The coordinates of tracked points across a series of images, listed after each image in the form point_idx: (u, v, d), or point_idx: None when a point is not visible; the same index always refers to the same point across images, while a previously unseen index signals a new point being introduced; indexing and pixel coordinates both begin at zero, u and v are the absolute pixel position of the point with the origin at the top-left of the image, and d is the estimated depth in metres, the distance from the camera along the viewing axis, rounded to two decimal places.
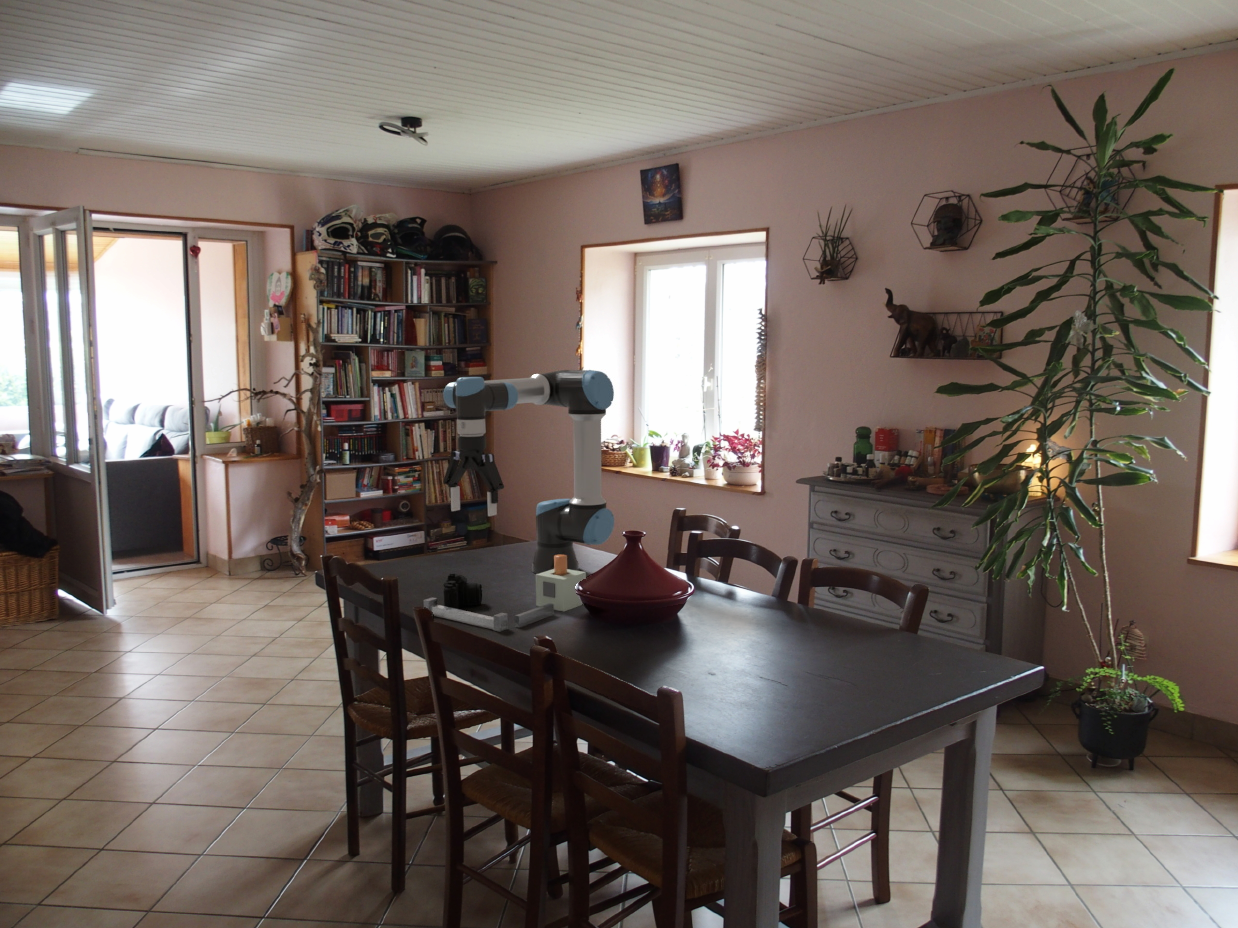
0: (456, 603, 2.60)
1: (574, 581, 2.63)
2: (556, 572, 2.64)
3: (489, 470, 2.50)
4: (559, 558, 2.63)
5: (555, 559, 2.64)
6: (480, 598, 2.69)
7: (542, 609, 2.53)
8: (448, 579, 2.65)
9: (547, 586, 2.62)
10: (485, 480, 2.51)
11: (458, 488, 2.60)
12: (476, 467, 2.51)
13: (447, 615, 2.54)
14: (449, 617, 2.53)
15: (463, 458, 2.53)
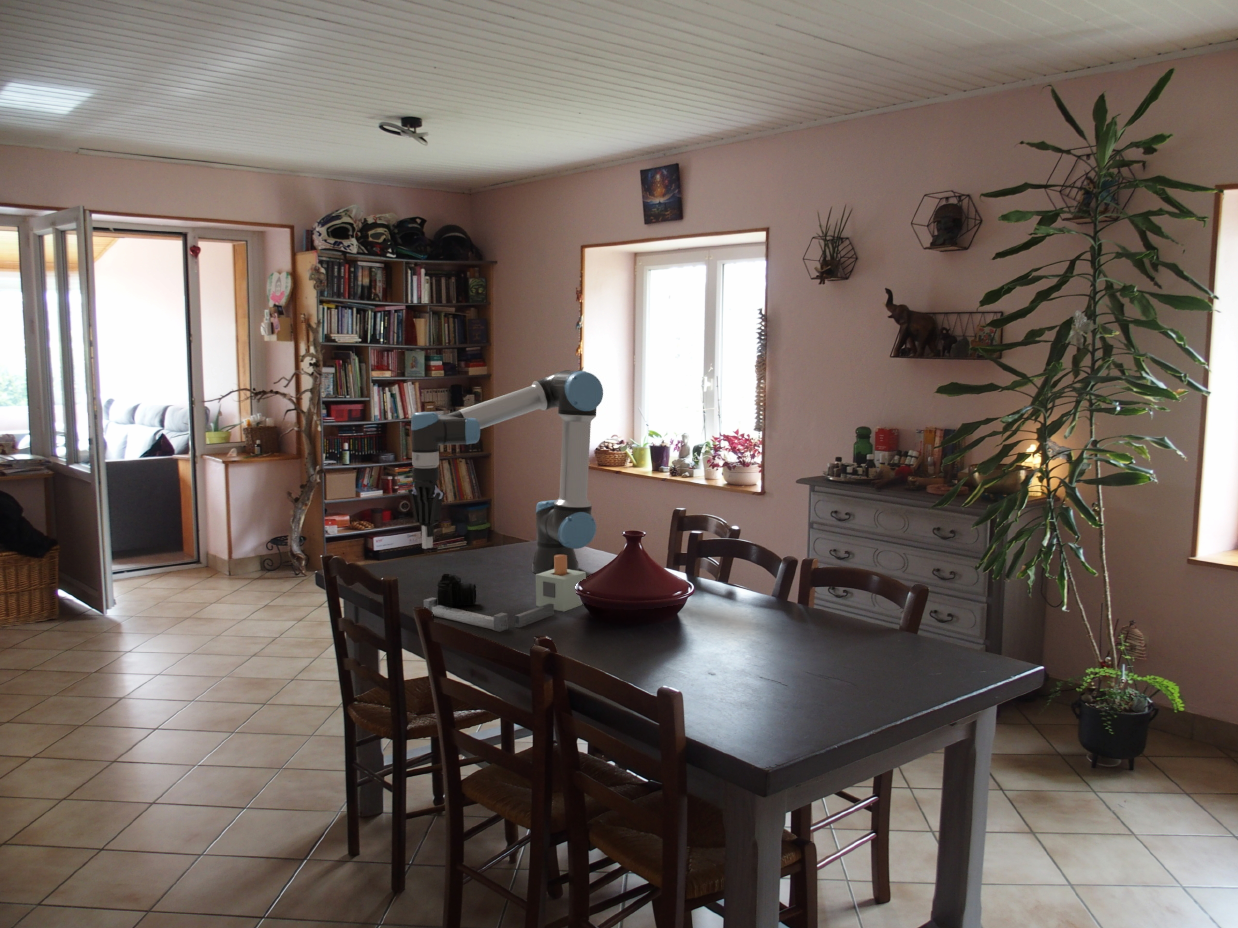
0: (450, 603, 2.60)
1: (574, 581, 2.63)
2: (556, 572, 2.64)
3: (433, 506, 2.68)
4: (559, 558, 2.63)
5: (555, 559, 2.64)
6: (474, 598, 2.68)
7: (542, 609, 2.53)
8: (442, 579, 2.65)
9: (547, 586, 2.62)
10: (426, 513, 2.70)
11: None
12: (425, 499, 2.69)
13: (447, 615, 2.54)
14: (449, 617, 2.53)
15: (417, 488, 2.70)
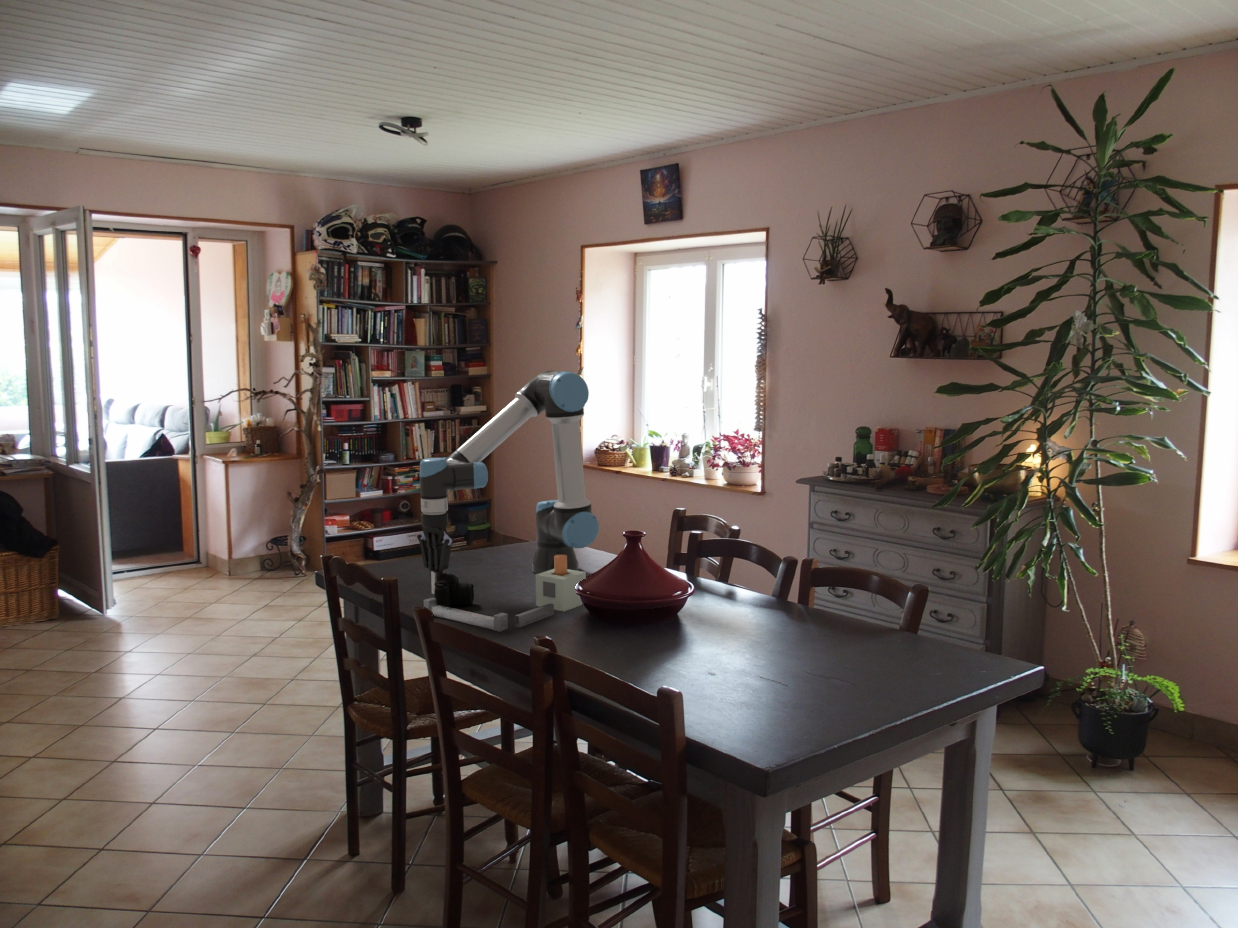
0: (447, 603, 2.60)
1: (574, 581, 2.63)
2: (556, 572, 2.64)
3: (442, 552, 2.68)
4: (559, 558, 2.63)
5: (555, 559, 2.64)
6: (472, 598, 2.69)
7: (542, 609, 2.53)
8: (439, 579, 2.65)
9: (547, 586, 2.62)
10: (435, 559, 2.70)
11: None
12: (434, 545, 2.69)
13: (447, 615, 2.54)
14: (449, 617, 2.53)
15: (426, 534, 2.70)
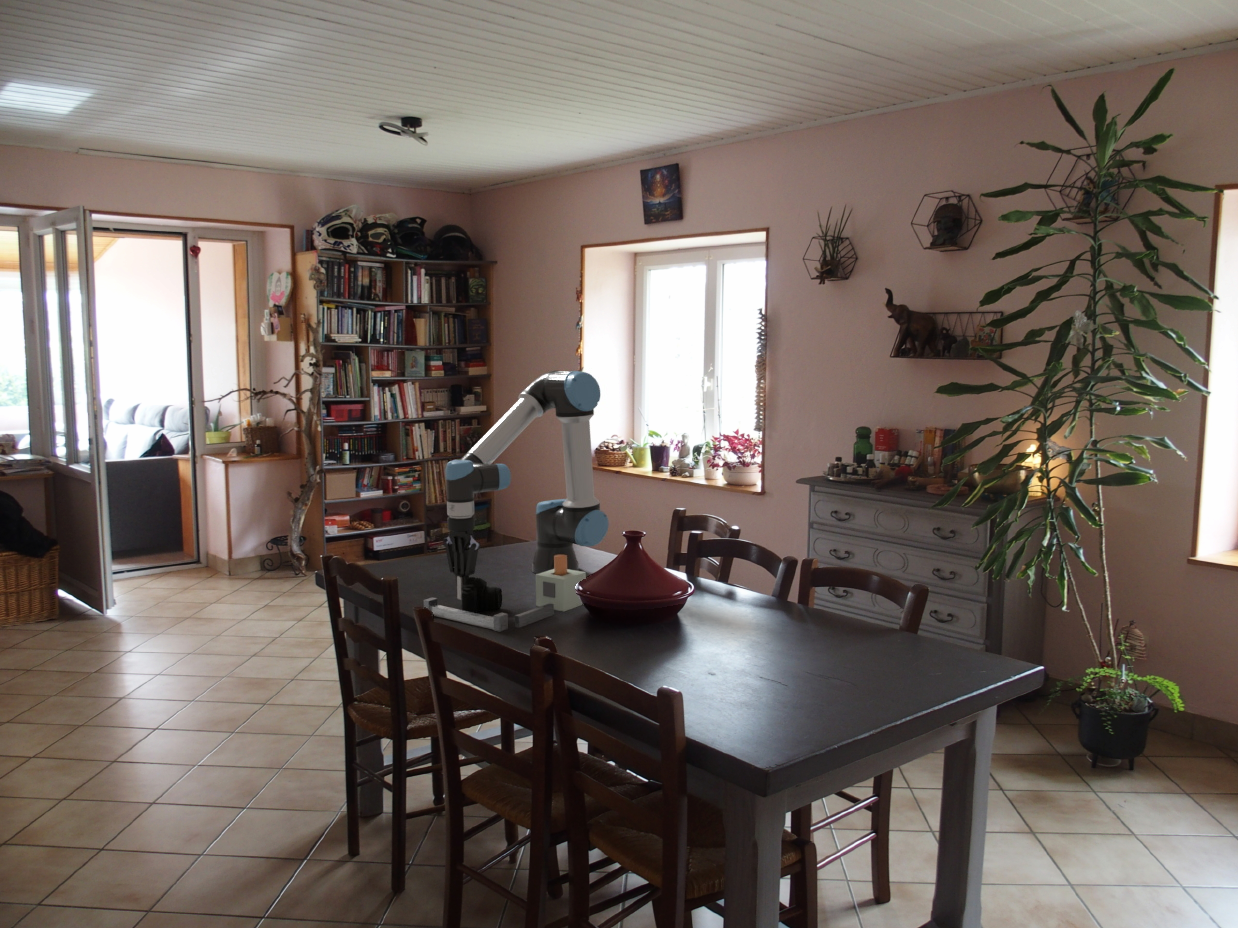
0: (474, 607, 2.55)
1: (574, 581, 2.63)
2: (556, 572, 2.64)
3: (469, 557, 2.62)
4: (559, 558, 2.63)
5: (555, 559, 2.64)
6: (500, 602, 2.63)
7: (542, 609, 2.53)
8: (467, 583, 2.60)
9: (547, 586, 2.62)
10: (462, 564, 2.64)
11: None
12: (460, 549, 2.63)
13: (447, 615, 2.54)
14: (449, 617, 2.53)
15: (452, 538, 2.64)
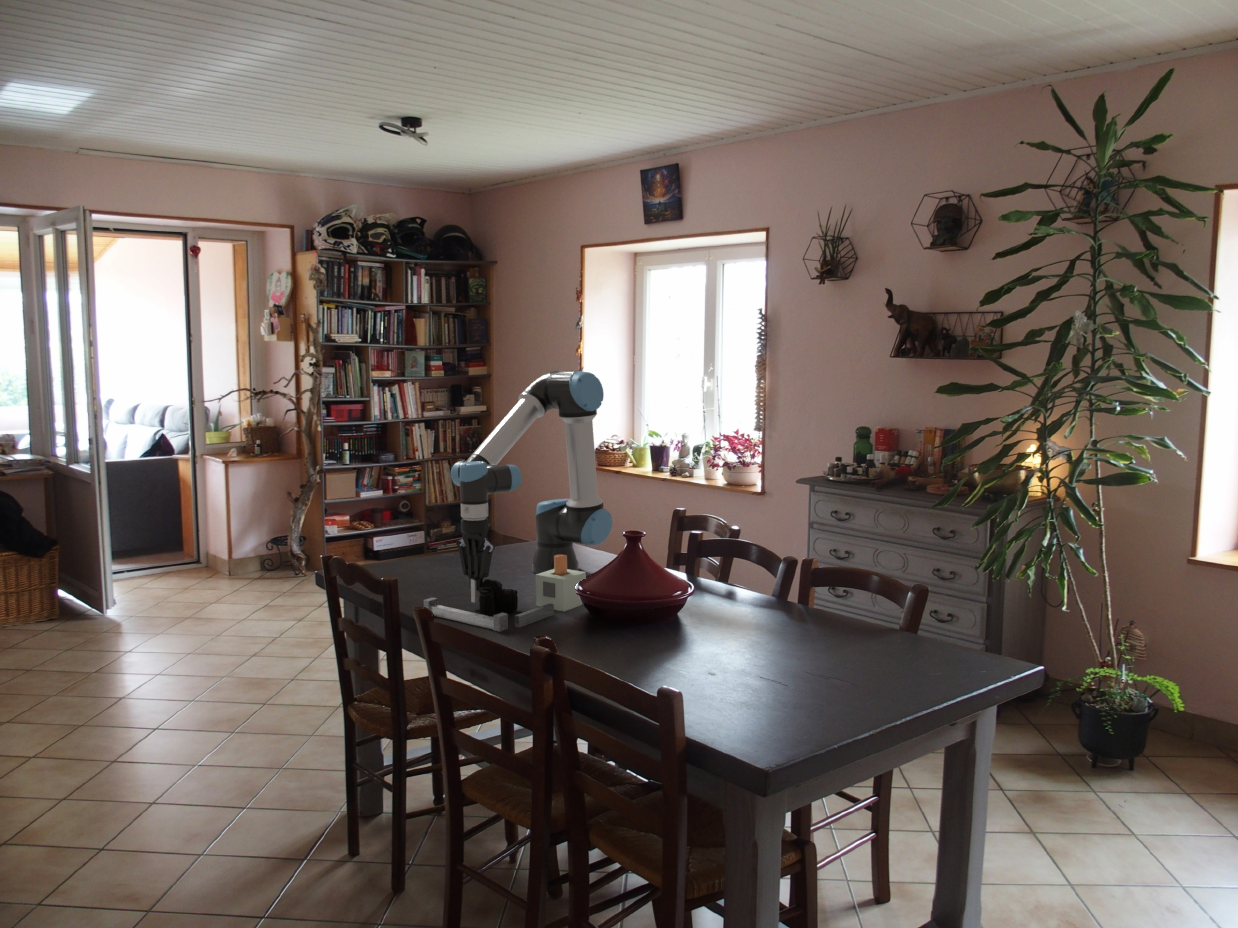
0: (492, 610, 2.53)
1: (574, 581, 2.63)
2: (556, 572, 2.64)
3: (483, 559, 2.59)
4: (559, 558, 2.63)
5: (555, 559, 2.64)
6: (516, 604, 2.61)
7: (542, 609, 2.53)
8: (483, 585, 2.58)
9: (547, 586, 2.62)
10: (476, 566, 2.61)
11: None
12: (474, 552, 2.60)
13: (447, 615, 2.54)
14: (449, 617, 2.53)
15: (466, 541, 2.61)
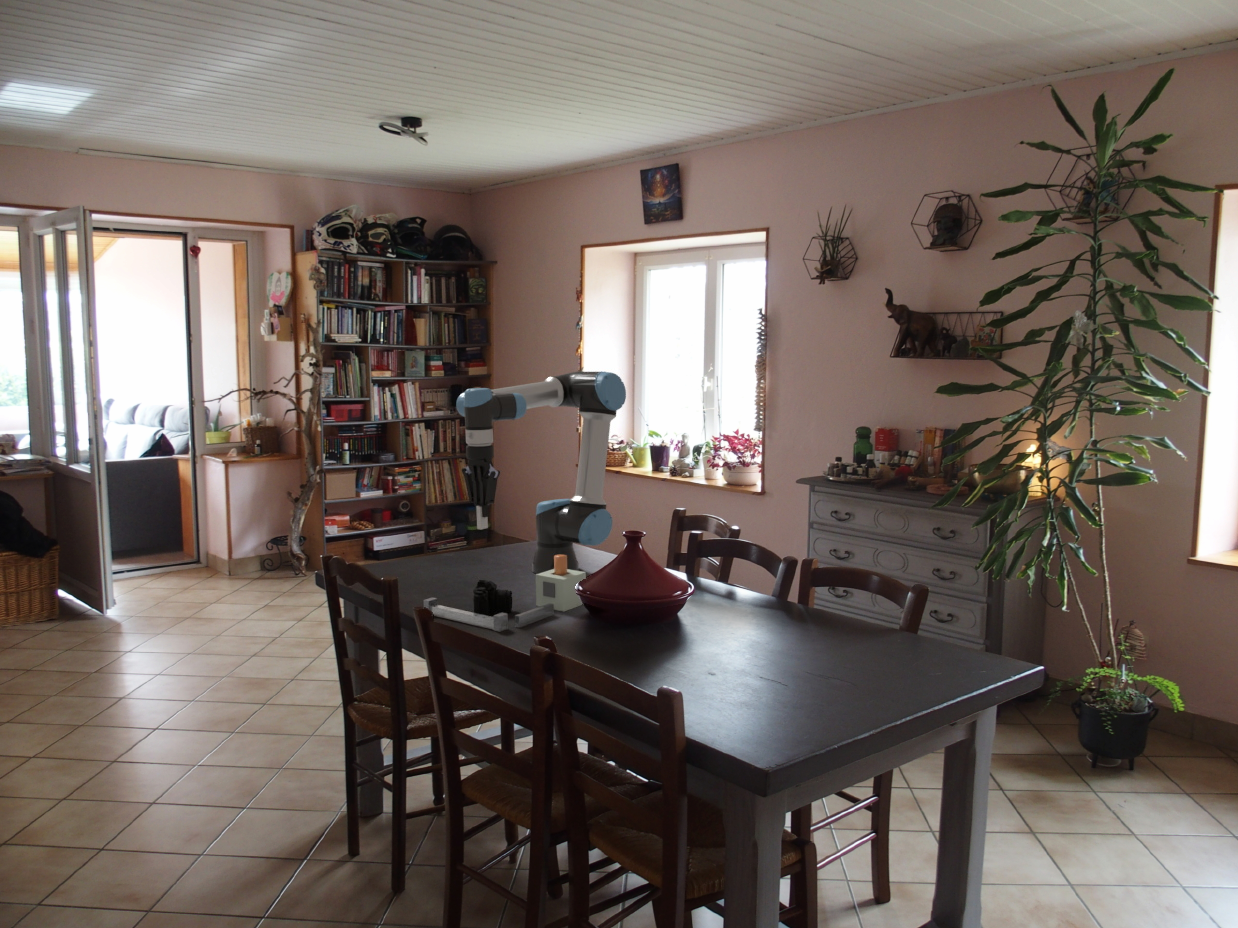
0: (486, 610, 2.53)
1: (574, 581, 2.63)
2: (556, 572, 2.64)
3: (488, 485, 2.59)
4: (559, 558, 2.63)
5: (555, 559, 2.64)
6: (510, 605, 2.61)
7: (542, 609, 2.53)
8: (478, 585, 2.58)
9: (547, 586, 2.62)
10: (481, 493, 2.61)
11: None
12: (479, 478, 2.60)
13: (447, 615, 2.54)
14: (449, 617, 2.53)
15: (471, 467, 2.61)
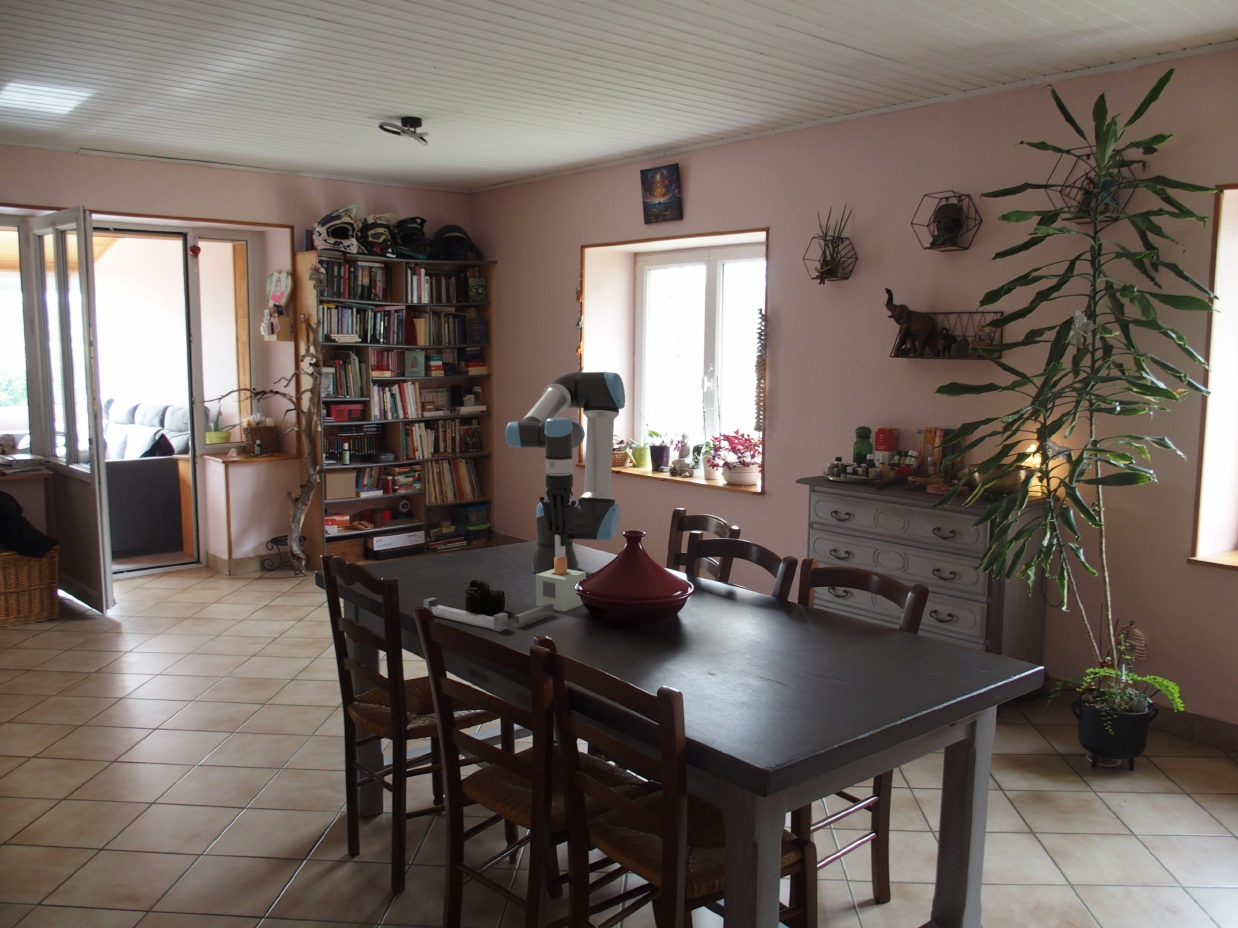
0: (478, 610, 2.53)
1: (574, 581, 2.63)
2: (556, 574, 2.64)
3: (568, 514, 2.60)
4: (559, 560, 2.63)
5: (555, 561, 2.64)
6: (503, 605, 2.61)
7: (542, 609, 2.53)
8: (470, 585, 2.58)
9: (547, 586, 2.62)
10: (560, 522, 2.62)
11: None
12: (559, 507, 2.61)
13: (447, 615, 2.54)
14: (449, 617, 2.53)
15: (551, 496, 2.62)
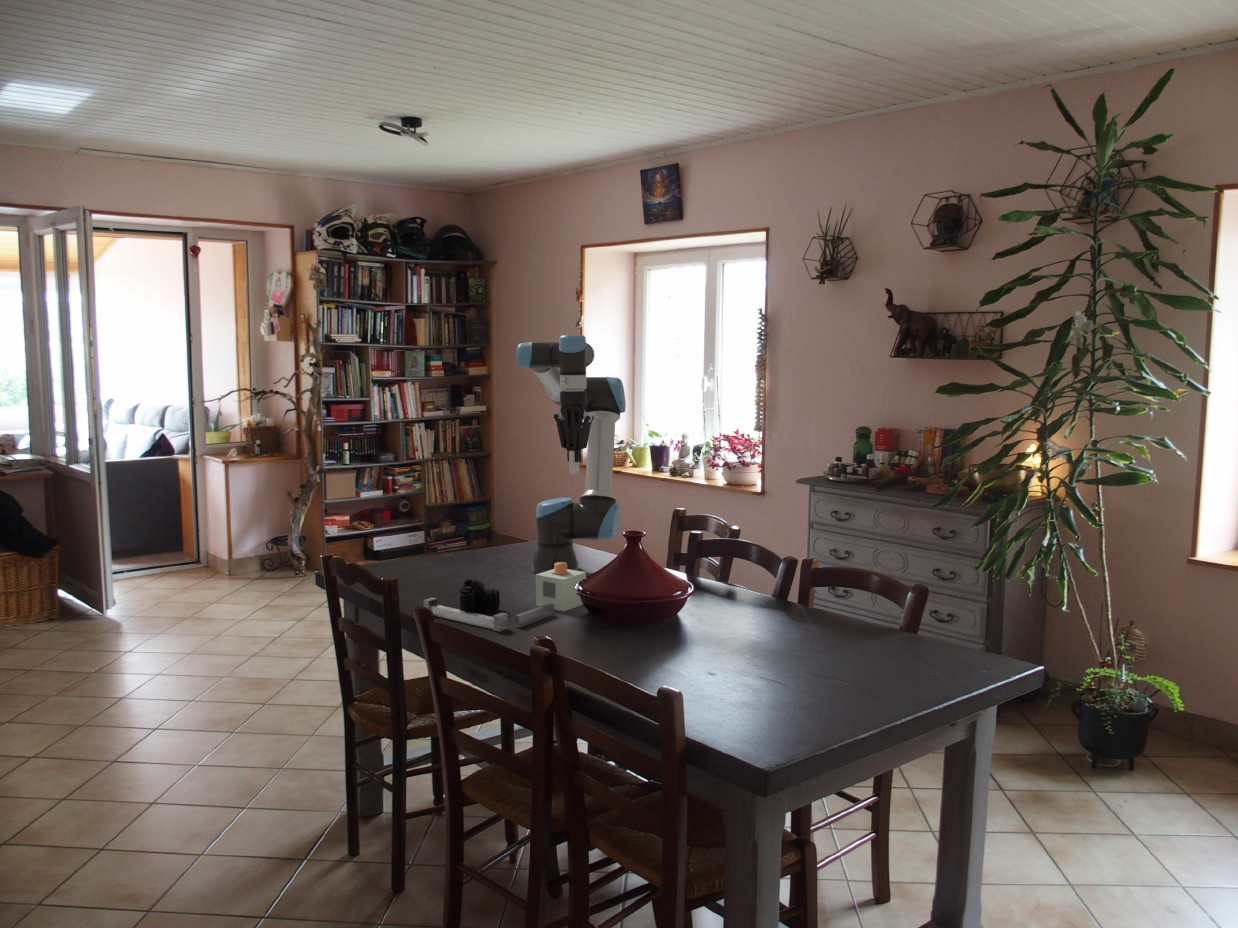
0: (472, 609, 2.53)
1: (574, 581, 2.63)
2: None
3: (582, 430, 2.64)
4: (559, 566, 2.64)
5: (555, 567, 2.64)
6: (497, 604, 2.62)
7: (542, 609, 2.53)
8: (465, 585, 2.59)
9: (547, 586, 2.62)
10: (574, 438, 2.66)
11: None
12: (573, 423, 2.65)
13: (447, 615, 2.54)
14: (449, 617, 2.53)
15: (565, 413, 2.66)
